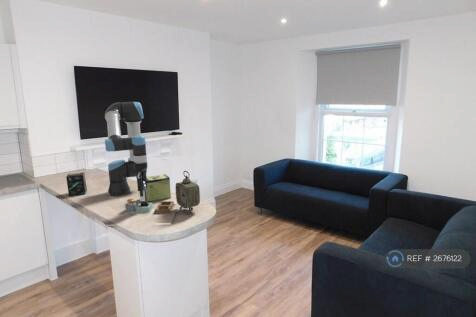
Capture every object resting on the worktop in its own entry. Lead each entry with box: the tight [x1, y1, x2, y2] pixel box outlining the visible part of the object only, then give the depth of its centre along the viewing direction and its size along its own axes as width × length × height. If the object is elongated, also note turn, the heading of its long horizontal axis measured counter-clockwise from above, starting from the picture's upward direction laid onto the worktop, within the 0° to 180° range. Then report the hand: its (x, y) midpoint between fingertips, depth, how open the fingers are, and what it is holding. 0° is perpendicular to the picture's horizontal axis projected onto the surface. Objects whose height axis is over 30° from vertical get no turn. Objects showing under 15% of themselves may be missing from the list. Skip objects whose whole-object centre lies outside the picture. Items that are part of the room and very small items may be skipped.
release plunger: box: [126, 198, 135, 205], centre depth 191 cm, size 4×4×5 cm
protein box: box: [146, 173, 172, 203], centre depth 213 cm, size 10×16×16 cm
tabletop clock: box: [175, 170, 201, 215], centre depth 190 cm, size 14×9×25 cm, turn 37°
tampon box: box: [65, 171, 88, 197], centre depth 229 cm, size 11×9×15 cm
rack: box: [153, 200, 176, 215], centre depth 193 cm, size 16×10×3 cm, turn 1°
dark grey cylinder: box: [139, 181, 148, 207], centre depth 191 cm, size 4×4×16 cm
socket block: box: [124, 201, 155, 215], centre depth 192 cm, size 12×15×5 cm
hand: (143, 199), depth 191 cm, fingers closed on dark grey cylinder, 4 cm apart
